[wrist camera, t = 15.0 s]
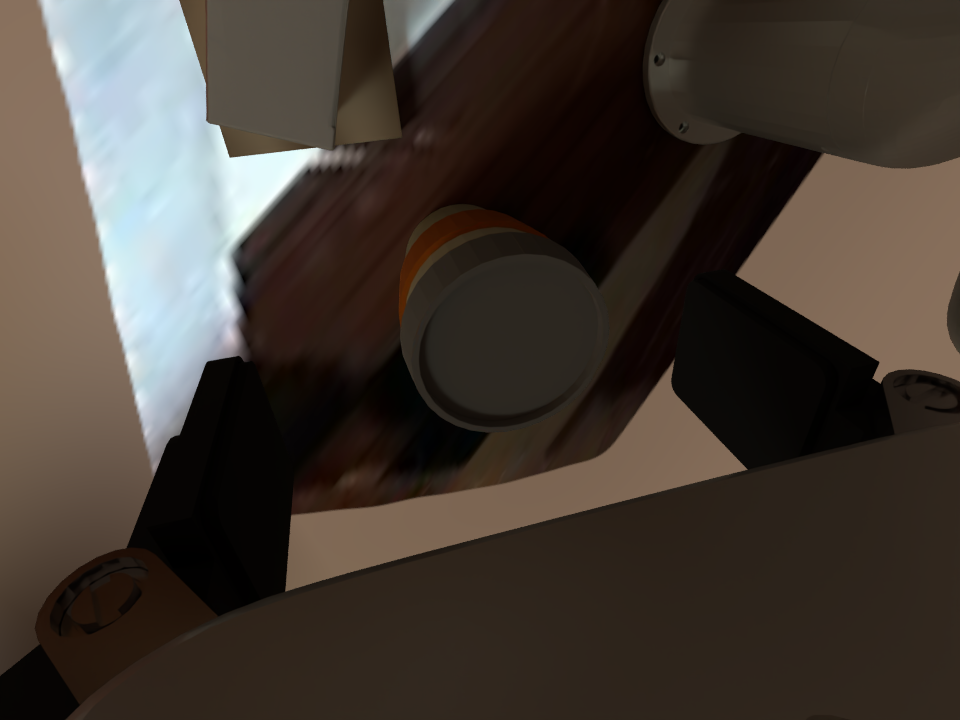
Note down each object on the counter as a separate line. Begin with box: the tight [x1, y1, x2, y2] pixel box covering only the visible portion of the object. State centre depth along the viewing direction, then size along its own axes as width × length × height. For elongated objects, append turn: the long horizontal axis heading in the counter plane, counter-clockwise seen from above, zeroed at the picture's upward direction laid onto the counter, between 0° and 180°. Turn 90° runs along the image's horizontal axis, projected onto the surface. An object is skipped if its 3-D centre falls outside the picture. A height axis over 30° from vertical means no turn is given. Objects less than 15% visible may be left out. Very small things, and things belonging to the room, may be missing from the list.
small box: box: [205, 0, 349, 150], centre depth 26 cm, size 8×6×10 cm
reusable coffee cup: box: [399, 204, 609, 432], centre depth 36 cm, size 13×13×15 cm
